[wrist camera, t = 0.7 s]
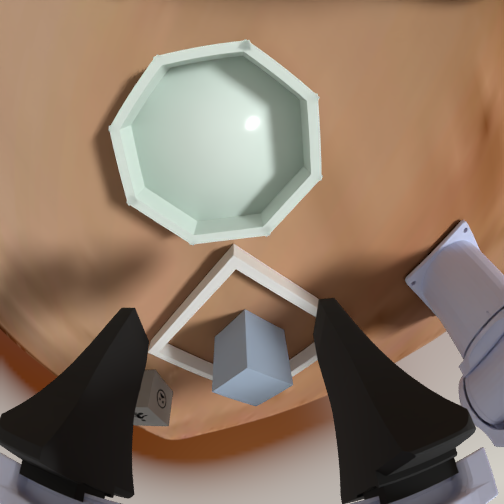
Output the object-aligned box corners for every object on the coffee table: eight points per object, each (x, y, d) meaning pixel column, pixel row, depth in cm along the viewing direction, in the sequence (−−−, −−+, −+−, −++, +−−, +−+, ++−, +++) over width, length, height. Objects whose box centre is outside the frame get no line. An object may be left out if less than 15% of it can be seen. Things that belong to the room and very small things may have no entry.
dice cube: (155, 369, 28) (147, 407, 24) (173, 391, 31) (168, 426, 27) (119, 370, 29) (109, 406, 24) (139, 392, 31) (132, 424, 27)
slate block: (283, 329, 25) (293, 384, 20) (252, 354, 27) (256, 406, 22) (244, 309, 24) (247, 367, 19) (214, 336, 25) (212, 391, 20)
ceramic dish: (346, 129, 16) (361, 136, 14) (235, 252, 20) (235, 272, 18) (201, 18, 12) (195, 6, 10) (100, 164, 16) (83, 176, 14)
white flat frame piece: (351, 320, 25) (355, 331, 24) (258, 386, 30) (259, 396, 29) (233, 243, 20) (233, 255, 19) (150, 340, 25) (147, 352, 24)
